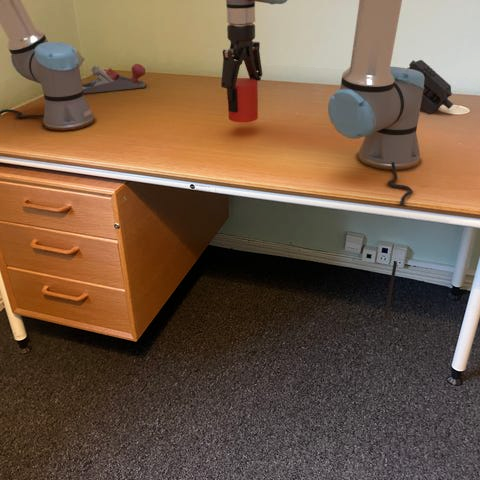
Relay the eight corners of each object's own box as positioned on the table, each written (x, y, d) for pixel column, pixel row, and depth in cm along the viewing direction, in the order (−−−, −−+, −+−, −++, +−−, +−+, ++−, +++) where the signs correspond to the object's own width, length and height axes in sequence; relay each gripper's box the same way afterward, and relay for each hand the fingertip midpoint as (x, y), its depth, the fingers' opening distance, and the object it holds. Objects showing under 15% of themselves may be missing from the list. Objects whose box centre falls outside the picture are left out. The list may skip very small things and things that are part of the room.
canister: (263, 116, 156) (263, 80, 151) (247, 124, 150) (246, 87, 145) (239, 111, 160) (238, 76, 155) (222, 119, 155) (221, 83, 149)
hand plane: (62, 90, 197) (53, 48, 189) (145, 82, 205) (140, 41, 197) (62, 96, 191) (54, 53, 184) (148, 87, 199) (143, 45, 191)
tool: (390, 90, 180) (417, 54, 169) (433, 128, 176) (464, 93, 165) (382, 95, 176) (409, 57, 165) (425, 133, 172) (456, 97, 161)
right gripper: (253, 16, 151) (254, 96, 163) (204, 29, 137) (209, 114, 149) (275, 18, 147) (274, 99, 159) (226, 31, 133) (230, 119, 145)
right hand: (243, 107), depth 154 cm, fingers closed on canister, 9 cm apart
